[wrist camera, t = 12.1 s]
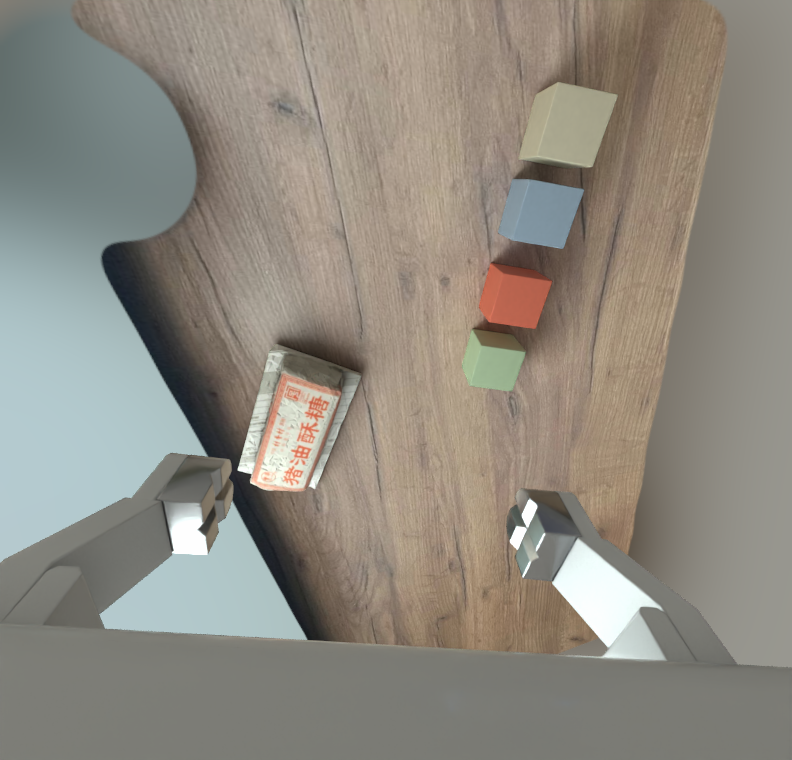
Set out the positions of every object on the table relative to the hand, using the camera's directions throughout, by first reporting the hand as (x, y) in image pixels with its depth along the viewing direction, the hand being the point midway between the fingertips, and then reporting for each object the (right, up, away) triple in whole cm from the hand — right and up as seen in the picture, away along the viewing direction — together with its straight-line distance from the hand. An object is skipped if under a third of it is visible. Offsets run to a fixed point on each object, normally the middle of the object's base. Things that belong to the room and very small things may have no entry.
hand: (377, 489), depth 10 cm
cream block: (+14, +24, +20) cm, 34 cm away
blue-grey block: (+13, +18, +23) cm, 32 cm away
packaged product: (-11, -2, +34) cm, 35 cm away
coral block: (+12, +12, +26) cm, 31 cm away
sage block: (+10, +6, +30) cm, 32 cm away
